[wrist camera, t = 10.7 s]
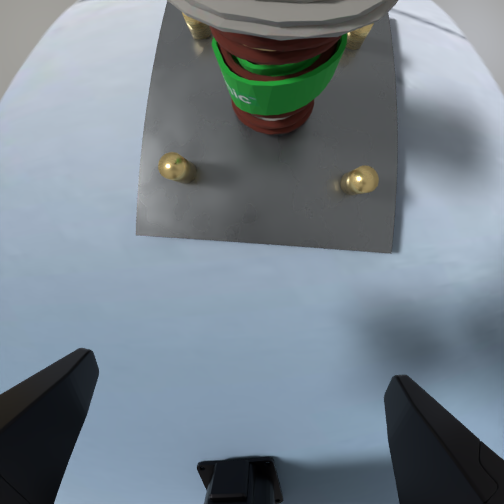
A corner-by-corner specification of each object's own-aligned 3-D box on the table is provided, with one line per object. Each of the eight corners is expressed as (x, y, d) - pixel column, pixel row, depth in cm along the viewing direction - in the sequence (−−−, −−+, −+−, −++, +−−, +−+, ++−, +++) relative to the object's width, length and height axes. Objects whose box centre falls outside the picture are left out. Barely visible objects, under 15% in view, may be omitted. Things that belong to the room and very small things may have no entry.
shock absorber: (204, 81, 18) (107, -101, 3) (294, 44, 17) (326, -150, 3) (247, 168, 19) (188, 33, 4) (342, 126, 18) (483, -24, 3)
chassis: (384, 251, 20) (411, 260, 16) (142, 233, 21) (115, 239, 16) (382, 16, 18) (400, -13, 14) (172, 2, 18) (158, -29, 14)
